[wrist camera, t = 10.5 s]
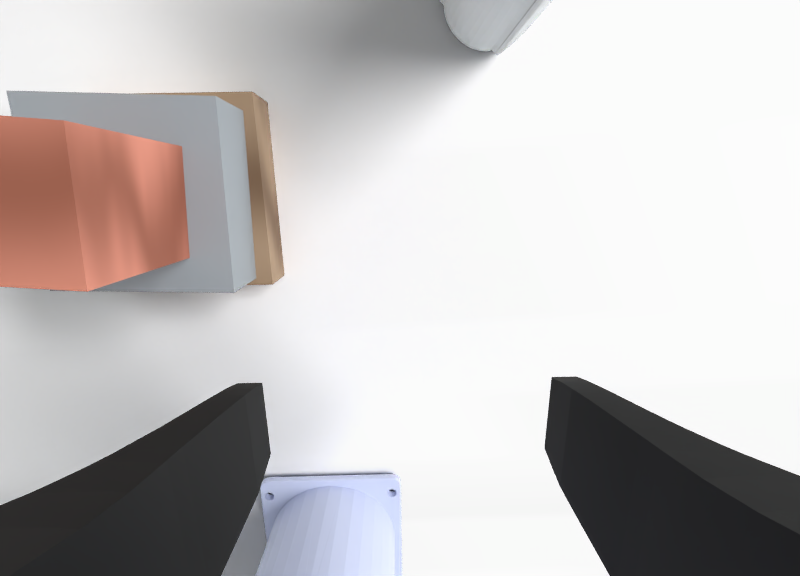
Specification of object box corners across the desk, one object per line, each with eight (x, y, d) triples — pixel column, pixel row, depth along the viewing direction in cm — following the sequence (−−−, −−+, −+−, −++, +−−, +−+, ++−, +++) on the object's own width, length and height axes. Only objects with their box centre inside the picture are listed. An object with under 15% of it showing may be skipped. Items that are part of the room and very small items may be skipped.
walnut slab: (287, 272, 20) (272, 284, 17) (131, 276, 20) (94, 288, 17) (271, 105, 18) (252, 91, 15) (97, 108, 18) (50, 95, 15)
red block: (189, 257, 14) (87, 291, 10) (80, 251, 14) (-80, 281, 9) (182, 146, 13) (63, 120, 9) (65, 137, 13) (-124, 106, 8)
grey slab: (256, 278, 17) (234, 292, 15) (98, 276, 17) (50, 290, 15) (243, 110, 15) (215, 95, 13) (67, 106, 15) (6, 90, 13)
